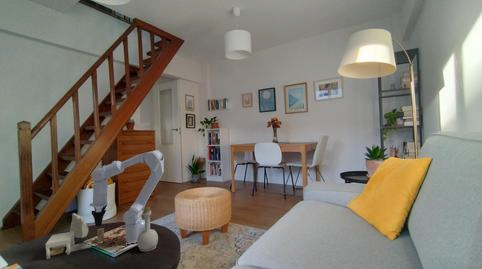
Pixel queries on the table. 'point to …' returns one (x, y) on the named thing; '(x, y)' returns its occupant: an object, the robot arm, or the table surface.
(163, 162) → the robot arm
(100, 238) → the blade tool
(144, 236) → the potion bottle
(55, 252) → the token
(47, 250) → the white toy table
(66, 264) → the table surface
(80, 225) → the stone
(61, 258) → the table surface
